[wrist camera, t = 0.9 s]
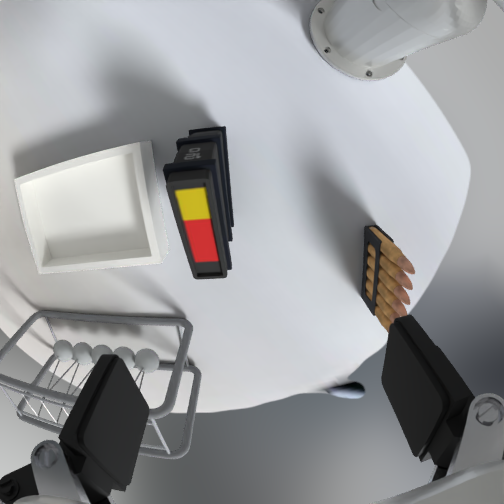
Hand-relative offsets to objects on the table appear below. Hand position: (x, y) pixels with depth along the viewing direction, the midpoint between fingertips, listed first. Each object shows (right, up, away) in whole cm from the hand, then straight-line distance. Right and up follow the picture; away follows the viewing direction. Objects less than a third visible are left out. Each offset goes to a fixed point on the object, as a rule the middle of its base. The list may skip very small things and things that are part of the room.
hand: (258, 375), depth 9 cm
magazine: (-4, +12, +25) cm, 28 cm away
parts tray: (-21, +10, +25) cm, 34 cm away
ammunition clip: (+16, +3, +29) cm, 33 cm away
